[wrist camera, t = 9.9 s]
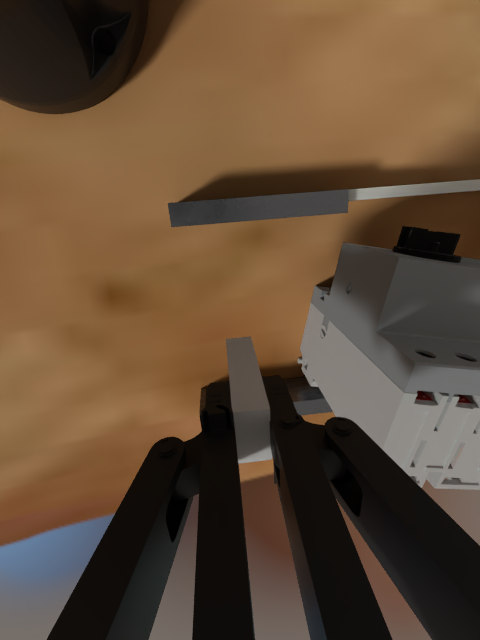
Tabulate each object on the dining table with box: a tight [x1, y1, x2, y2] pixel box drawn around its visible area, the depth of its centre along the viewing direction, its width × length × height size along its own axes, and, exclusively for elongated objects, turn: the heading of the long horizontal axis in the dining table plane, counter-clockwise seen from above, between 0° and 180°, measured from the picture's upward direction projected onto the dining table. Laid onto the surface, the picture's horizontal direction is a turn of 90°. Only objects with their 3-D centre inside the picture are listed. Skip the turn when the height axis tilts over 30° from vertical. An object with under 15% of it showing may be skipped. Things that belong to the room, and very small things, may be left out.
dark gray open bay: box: [168, 189, 349, 415], centre depth 26 cm, size 20×13×4 cm, turn 4°
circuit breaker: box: [297, 226, 480, 490], centre depth 22 cm, size 8×14×15 cm, turn 172°
